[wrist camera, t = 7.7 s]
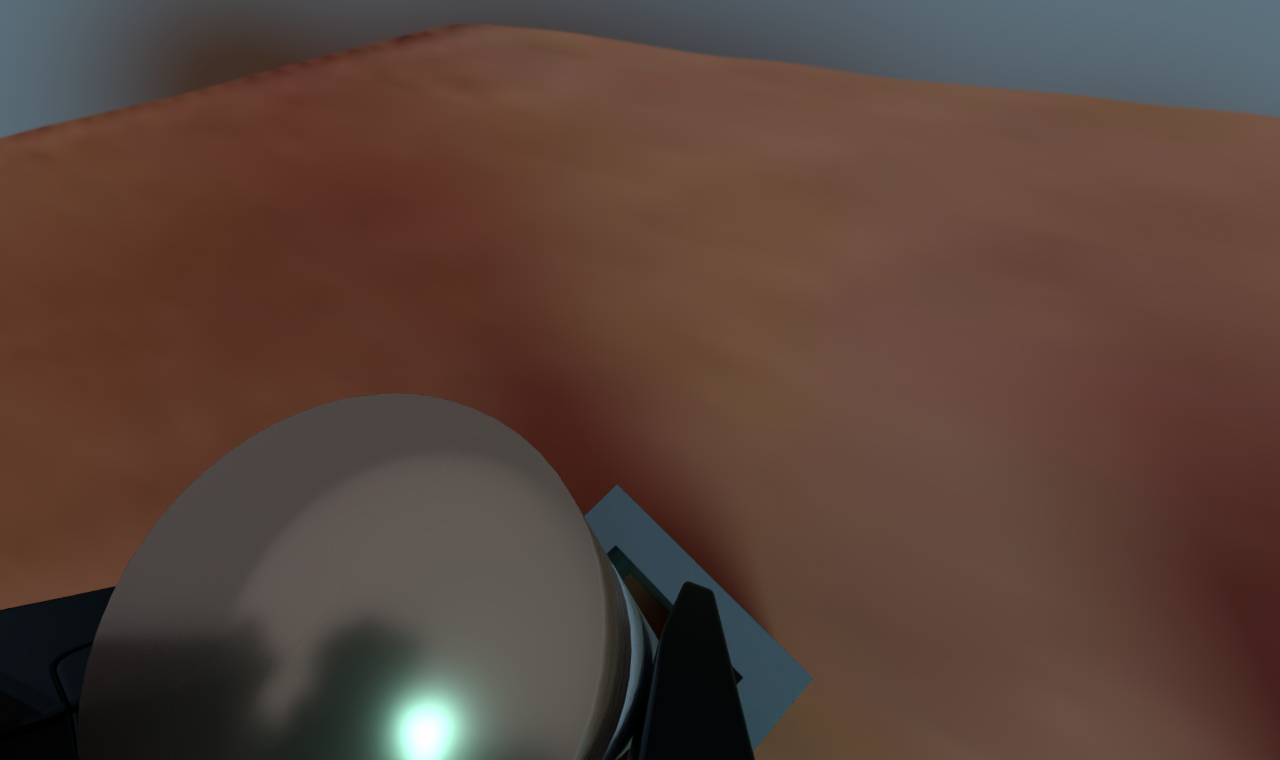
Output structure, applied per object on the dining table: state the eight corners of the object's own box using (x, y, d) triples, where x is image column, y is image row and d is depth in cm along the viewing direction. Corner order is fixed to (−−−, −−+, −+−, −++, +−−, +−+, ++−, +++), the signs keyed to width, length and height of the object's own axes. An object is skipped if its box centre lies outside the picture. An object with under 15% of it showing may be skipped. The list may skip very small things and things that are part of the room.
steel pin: (598, 786, 13) (238, 1160, 3) (508, 675, 15) (0, 627, 4) (695, 677, 14) (716, 631, 4) (604, 579, 15) (405, 316, 5)
